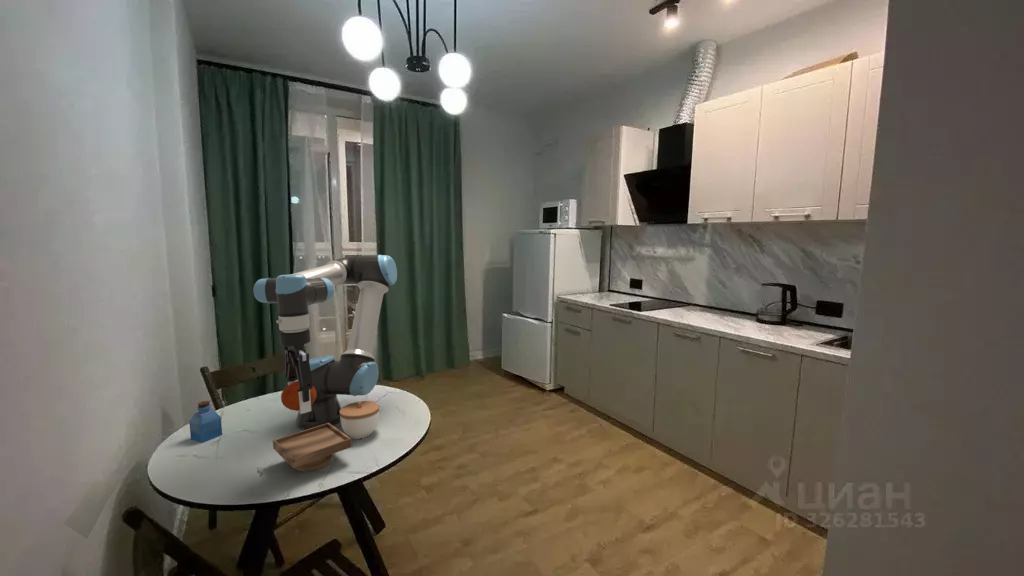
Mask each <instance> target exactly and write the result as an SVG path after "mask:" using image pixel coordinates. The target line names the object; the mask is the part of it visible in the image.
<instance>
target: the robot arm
mask: <svg viewBox="0 0 1024 576" xmlns="http://www.w3.org/2000/svg"><path fill="white" fill-rule="evenodd" d="M397 280H398V269H397V265H396V262H395V259H393V258H392V256H390V255H385V254H383V255H382V254H377V255H376V254H374V255H373V254H371V255H369V254H367V255H365V254H362V255H361V254H353V255H348V256H345V257H340V258H337V259H333V260H330V261H328V262H326V263H325V264H324V265H321V266H317V267H313V268H310V269H309V268H308V269H306V270H302V271H298V272H295V273H292V274H291V273H290V274H280V275H278V276H277V277H274V278H272V277H267V278H260V279H258V280H257V281H256V282H255V283H254V285H253V296H254V298H255V299H256V300H257V301H258V302H260V303H265V304H276V305H277V315H278V319H277V320H276V321H275V322H276V323H277V324H278V328H279V333H278V334H279V344H280V346H282V347H283V349H284V377H285V379H286V381H287V386H288V385H290V384H292V383H293V382H295V381H298V383H299V388H300V389H298V390H297V392H299V405H300V410H298V413H297V417H296V425H297V427H298V428H299V429H302V430H307V429H310V428H313V427H316V426H319V425H323V424H326V423H330V424H331V425H333V426H334V425H337V424H338V423H339V421H340V413H339V411H340V409H341V408H342V406H341V403H340V401H339V399H338V397H337V396H338V395H342V396H353V397H356V396H357V397H358V396H366V395H368V394H370V393H371V392H372V391H373V390H374V388H375V387H376V385H377V383H378V380H379V366H378V364H377V363H376V362H375V360H376V358H375V357H374V355H373V354H372V352H373V349H374V344H375V340H376V339H375V337H376V333H377V330H378V329H377V328H378V323H379V319H380V313H381V309H382V303H383V299H384V294H386V293H388V292H389V289H390V286H393V285H395V284H396V283H397ZM340 285H356V286H357V287H358V288H359V296H358V299H357V302H356V303H357V304H356V308H355V313H354V316H353V323H352V327H351V330H350V334H349V339H348V344H347V348H346V351H344V352H343V353H341V354H340V359H339V360H336V357H335V355H332V354H331V355H329V354H327V355H320V356H316V357H312V358H310V353H309V352H307V351H306V349H305V347H304V345H306V344H309V343H310V342H311V332H310V331H311V330H310V329H309V327H310V325H311V324H310V313H309V306H311V305H315V304H320V303H324V302H327V301H329V300H331V299H332V298H333V296H334V294H335V286H340ZM313 386H314V388H315V390H316V394H317V395H316V399H315V401H314V403H313V404H312V405H311V398H310V389H312V388H313ZM340 422H341V421H340Z"/></svg>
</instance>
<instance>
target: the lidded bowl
mask: <svg viewBox="0 0 1024 576" xmlns="http://www.w3.org/2000/svg"><path fill="white" fill-rule="evenodd" d="M380 409H381V407H380V403H378V402H376V401H372V400H361V401H354V402H351V403H348V404H346V405H344V406H341V409H340V411H339V413H340V426H341V428H342V430H343V433H344V434H346V435H347V436H349V437H350V438H351V439H353V440H354V439H355V440H359V439H360V438H362V439H365V438H364V437H366V438H367V436H368V437H370V436H371V435H372V434H373V432H374V431H375V430H376V429H377V427H378V425H379V421H380ZM371 433H372V434H371ZM370 434H371V435H370ZM369 435H370V436H369ZM360 440H361V439H360Z"/></svg>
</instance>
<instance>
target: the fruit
mask: <svg viewBox="0 0 1024 576" xmlns="http://www.w3.org/2000/svg"><path fill="white" fill-rule="evenodd" d="M298 389H300V388H299V383H298V381H295V382H293V383H292V384H290V385H288V384H287V386H285V388H284V389H283V390H282V392H281V394H280V395H281V396H280V400H281V404H282V405H283V406H284V407H285V408H286V409H289V410H291V411H295V412H297V411H298V412H299V410H300V405H299V392H297V390H298ZM316 395H317V394H316V390H315V388H314V386H313V388H312V389H310V398H311V405H312V404H313V403H314V401H315V399H316Z"/></svg>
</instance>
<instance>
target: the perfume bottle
mask: <svg viewBox="0 0 1024 576" xmlns="http://www.w3.org/2000/svg"><path fill="white" fill-rule="evenodd" d="M197 405H198V406H197V412H195V413H194V414H193V415H192V416H191V418H190V420H189V430H190V431H189V433H190V440H192V441H194V442H196V443H197V442H198V443H200V444H203V443H206V442H208V441H210V440H211V441H212V440H213V439H216V438H219V437H221V436H223V427H222V426H223V425H222V418H221V416H220V414H219V413H217V411H216V410H212V409H211V407H212V406H211V404H210V400H204V401H203V400H202V401H199V402H198V403H197Z"/></svg>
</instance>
